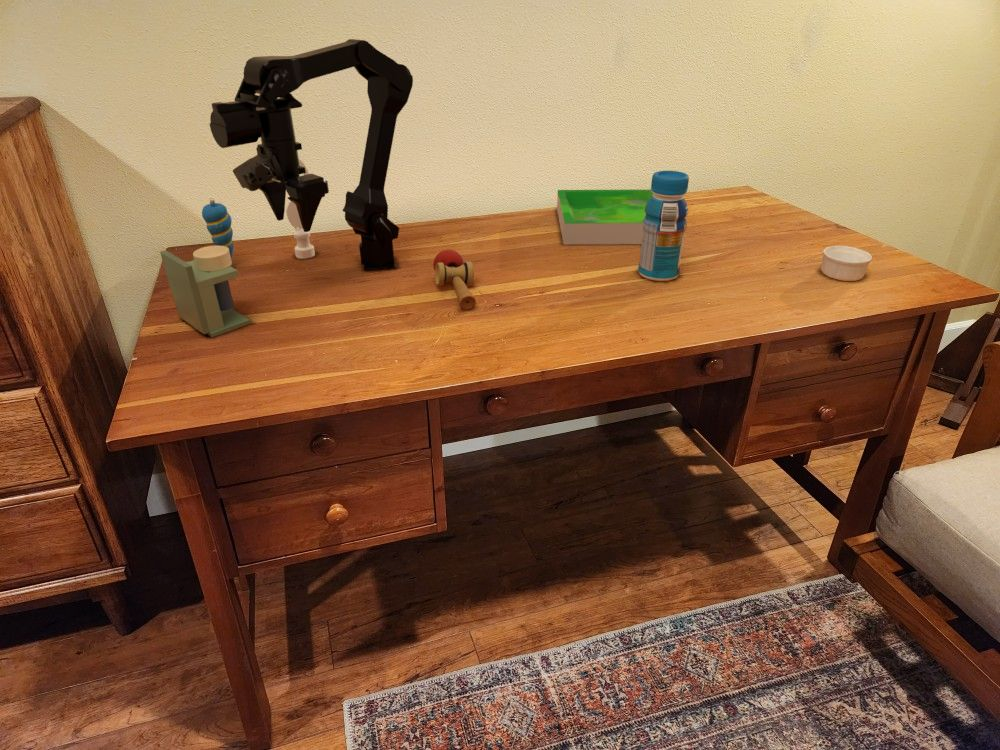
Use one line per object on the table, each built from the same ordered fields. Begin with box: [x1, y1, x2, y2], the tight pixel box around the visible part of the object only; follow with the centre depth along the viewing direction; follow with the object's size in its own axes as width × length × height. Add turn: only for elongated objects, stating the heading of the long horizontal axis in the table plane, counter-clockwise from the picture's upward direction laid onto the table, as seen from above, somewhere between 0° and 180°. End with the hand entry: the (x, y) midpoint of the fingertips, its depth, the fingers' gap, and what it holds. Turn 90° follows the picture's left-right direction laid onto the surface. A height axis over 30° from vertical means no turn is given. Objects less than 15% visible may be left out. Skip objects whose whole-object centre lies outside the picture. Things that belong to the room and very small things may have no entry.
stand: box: [159, 250, 252, 338], centre depth 116 cm, size 8×11×13 cm
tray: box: [556, 189, 654, 245], centre depth 160 cm, size 25×25×5 cm
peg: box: [192, 245, 235, 311], centre depth 117 cm, size 6×6×10 cm
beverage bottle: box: [637, 170, 690, 282], centre depth 130 cm, size 8×8×20 cm
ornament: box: [201, 198, 234, 267], centre depth 136 cm, size 5×5×15 cm
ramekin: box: [820, 245, 873, 282], centre depth 134 cm, size 9×9×4 cm
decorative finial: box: [285, 157, 316, 260], centre depth 140 cm, size 6×4×25 cm
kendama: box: [432, 249, 476, 311], centre depth 128 cm, size 8×6×18 cm
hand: (293, 225), depth 124 cm, fingers open, 9 cm apart
